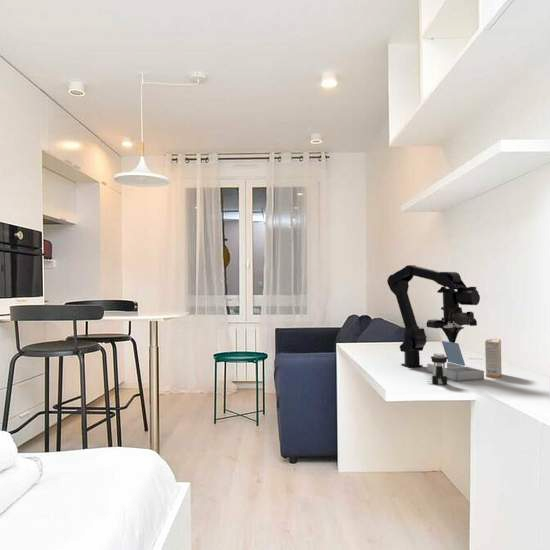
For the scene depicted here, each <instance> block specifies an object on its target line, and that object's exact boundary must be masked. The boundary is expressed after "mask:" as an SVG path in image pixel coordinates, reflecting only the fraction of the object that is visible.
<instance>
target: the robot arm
mask: <svg viewBox="0 0 550 550" xmlns="http://www.w3.org/2000/svg"><path fill="white" fill-rule="evenodd" d="M414 276H415V277H418V278H421V279H425V280H426V279H427V280H429V281H432V282H435V283H436V284H437V285H440V286H441V287H440V289H439V288H438V290H437V293H440V294H442V306H441V308H440V310H442V313H443V314H442V315H443V317H441V319H435V318H434V319H427V322H426V328H433V329H441V331H442V332H444V334H445V336H446V338H447V341H448V342H454V343H456V341H457V337H458V334H459V332H460V331H462V330H464V328H465V327H464V326H470V327H475V326H478V321H477V319H476V318H475V315H474V312H473V311H467V312H463V309H462V307H461V306H460V305H462V306H477V305H479V303H480V299H481V295H480V294H479V291H478V290H477V286H468V287H467V285H466V284H465V283H464V281H463V279H462V277H461V275H460V273H459V272H456V271H439V270H438V271H437V270H434V269H429V268H425V267H422V266H421V267H420V266H418V265H415V264H413V265H412V264H411V265H410V264H407V265H405V266H404V267H403V268H401V269H400V270H397V271H396V272H395V273H393V274H390V275H389V276H388V278H387V281H386V282H387V286H388V287H389V289H390V291H391V292H392V293H393V294H394V296H395V298H396V300H397V305H398V307H399V311H400V314H401V317H402V321H403V325H404V328H405V329H404V333H403V336H404V341H403V342H402V343H401V344H400V345H399V350H400V352H403V353H404V354H403V355H404V363H401V366H403V367H407V368H421V367H424V366H423V364H421V363H420V362H421V360H420V359H421V357H420V352H422V351H423V350H424V347H425V345H426V343H427V338H428V337H427V335H426V333H425V328H423V327H422V328H420V326H419V325H418V323H417V320H416V316H415V313H414V310H413V307H412V304H411V301H410V297H409V292H408V291H409V287H410V285H409V282H411V281H412V280H413V278H414Z"/></svg>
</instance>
